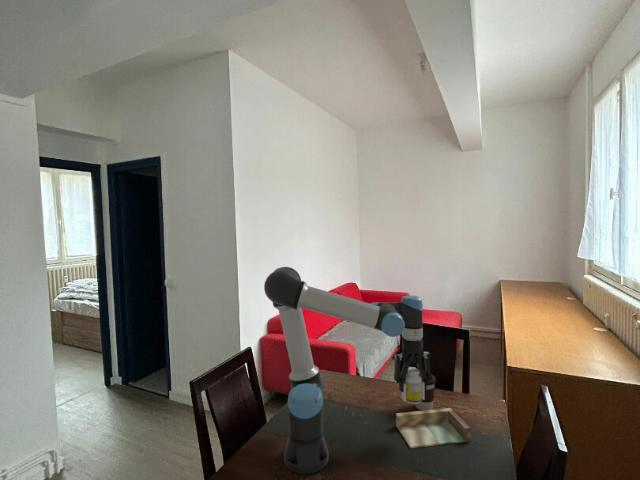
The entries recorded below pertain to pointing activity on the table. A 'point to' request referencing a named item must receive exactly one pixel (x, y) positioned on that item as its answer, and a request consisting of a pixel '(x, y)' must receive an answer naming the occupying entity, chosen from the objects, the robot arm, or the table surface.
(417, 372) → the pill bottle
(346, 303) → the robot arm
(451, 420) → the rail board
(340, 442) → the table surface
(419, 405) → the coffee cup
